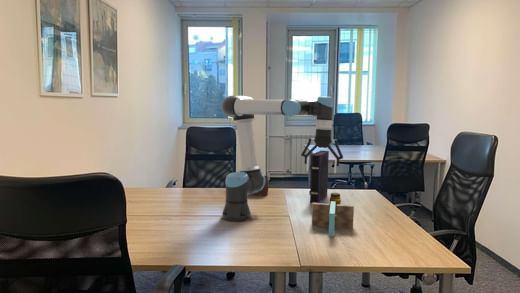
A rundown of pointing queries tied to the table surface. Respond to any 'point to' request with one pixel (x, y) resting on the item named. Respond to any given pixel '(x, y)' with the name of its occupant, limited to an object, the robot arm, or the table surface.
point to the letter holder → (265, 188)
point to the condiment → (335, 200)
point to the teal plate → (332, 219)
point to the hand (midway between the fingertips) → (321, 171)
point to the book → (319, 176)
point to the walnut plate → (341, 218)
